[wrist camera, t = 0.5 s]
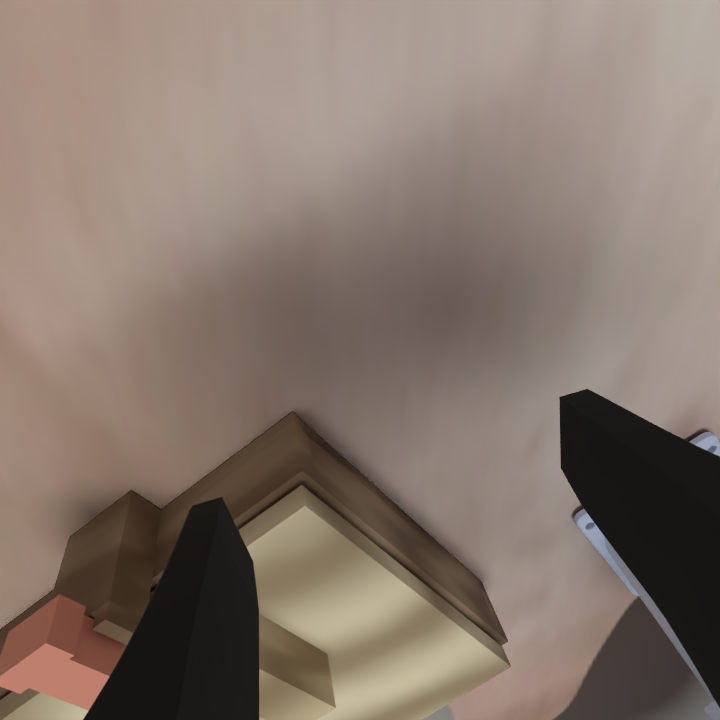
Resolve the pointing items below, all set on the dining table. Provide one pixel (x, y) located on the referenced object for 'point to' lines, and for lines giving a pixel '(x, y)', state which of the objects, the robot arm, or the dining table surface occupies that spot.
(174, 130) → the dining table surface
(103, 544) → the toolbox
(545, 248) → the dining table surface
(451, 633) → the lid
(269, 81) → the dining table surface
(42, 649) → the pink bar
